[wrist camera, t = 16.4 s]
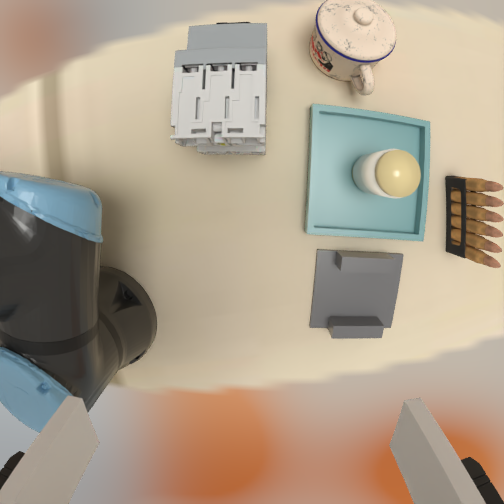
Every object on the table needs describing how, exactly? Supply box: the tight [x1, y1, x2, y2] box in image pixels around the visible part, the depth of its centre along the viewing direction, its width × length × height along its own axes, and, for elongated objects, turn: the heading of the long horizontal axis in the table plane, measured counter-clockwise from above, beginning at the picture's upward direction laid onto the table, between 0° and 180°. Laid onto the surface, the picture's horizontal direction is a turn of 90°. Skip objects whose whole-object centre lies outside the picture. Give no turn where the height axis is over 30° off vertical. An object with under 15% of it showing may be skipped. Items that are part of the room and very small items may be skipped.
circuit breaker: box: [170, 22, 267, 155], centre depth 30 cm, size 8×14×15 cm, turn 179°
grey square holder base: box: [310, 249, 403, 338], centre depth 40 cm, size 12×11×4 cm
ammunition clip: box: [445, 176, 504, 268], centre depth 33 cm, size 11×2×12 cm, turn 5°
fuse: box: [352, 149, 421, 199], centre depth 33 cm, size 5×5×10 cm
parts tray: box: [305, 104, 430, 241], centre depth 37 cm, size 16×16×2 cm
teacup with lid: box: [309, 0, 396, 95], centre depth 30 cm, size 12×9×12 cm
